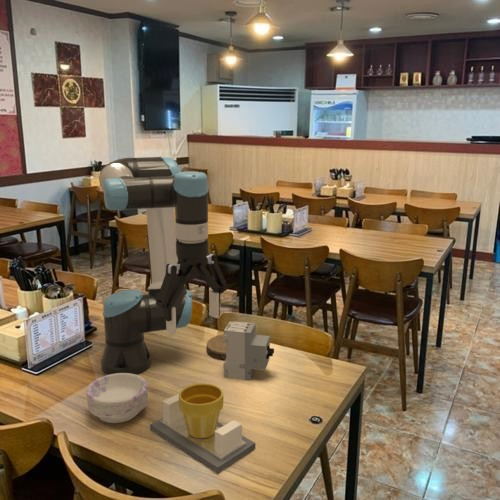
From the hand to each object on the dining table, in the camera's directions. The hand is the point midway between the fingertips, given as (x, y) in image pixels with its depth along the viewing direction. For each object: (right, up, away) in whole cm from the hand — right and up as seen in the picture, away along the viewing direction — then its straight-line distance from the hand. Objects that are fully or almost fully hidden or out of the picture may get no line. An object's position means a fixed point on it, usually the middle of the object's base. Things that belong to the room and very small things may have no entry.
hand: (193, 324), depth 124 cm
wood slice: (+7, -16, +46) cm, 49 cm away
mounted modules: (+2, -25, -3) cm, 25 cm away
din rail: (+2, -26, -3) cm, 26 cm away
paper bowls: (-20, -25, +9) cm, 33 cm away
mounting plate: (+2, -27, -2) cm, 27 cm away
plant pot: (+2, -25, -2) cm, 25 cm away
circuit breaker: (+14, -20, +30) cm, 38 cm away
